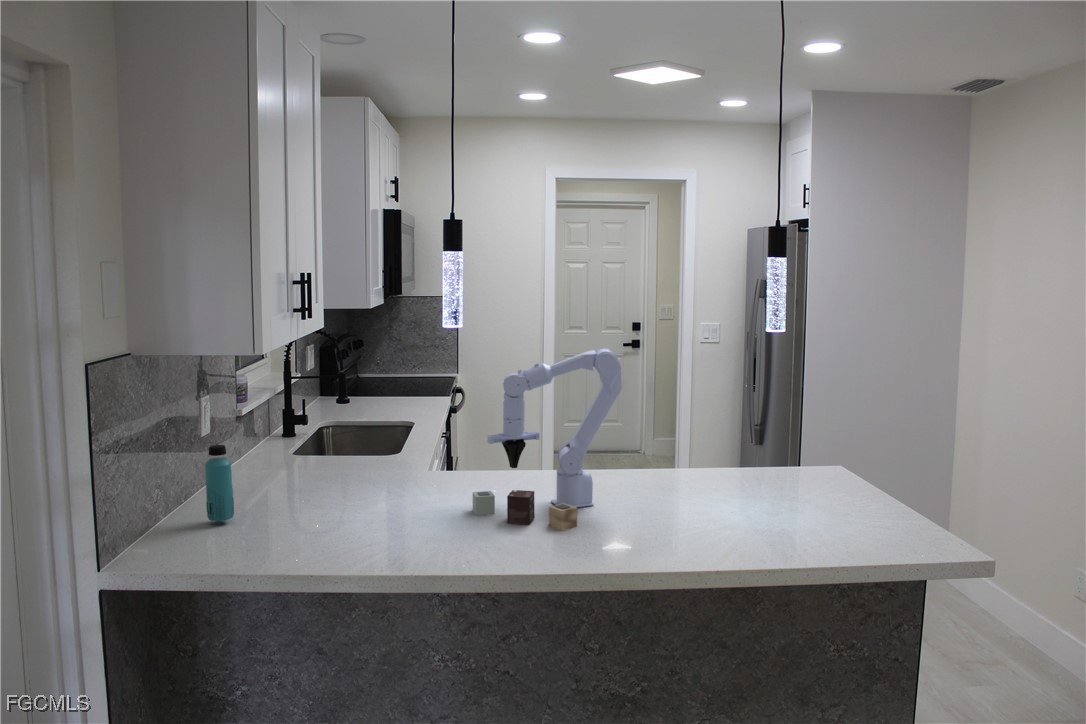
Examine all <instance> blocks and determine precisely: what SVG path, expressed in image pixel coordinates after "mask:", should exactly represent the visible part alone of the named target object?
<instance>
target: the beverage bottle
mask: <svg viewBox="0 0 1086 724" xmlns="http://www.w3.org/2000/svg"><path fill="white" fill-rule="evenodd" d="M226 454H227V449H226V445H223V444H213V445H210V446H209V447H208V456H210V457H211V456H213V458H209V459H208V460H207V461H206V462H205V464H204V468H205V469H204V470H205V471H204V473H205V484H204V485H205V490H206V491H205V492H206V493H205V495H206V503H205V504H206V505H205V506H206V516H207V518H208V520H209V521H212V522H213V521H214V522H220V521H221V522H222V521H228V520H230V519H232V518H233V517H234V514H235V501H234V489H233V478H232V477H233V473H232V461H231V460H229V458H227V457H223V456H224V455H226ZM216 456H218V457H216ZM220 456H221V457H220Z"/></svg>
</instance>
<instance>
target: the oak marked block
mask: <svg viewBox="0 0 1086 724" xmlns="http://www.w3.org/2000/svg"><path fill="white" fill-rule="evenodd" d="M548 526H549V527H551V528H553V529H557V530H559V531H566V530H569V529H573V528H576V527H578V507H574V506H571V505H568V504H565V503H562V504H558V505H555V504H554V505H550V506H548Z"/></svg>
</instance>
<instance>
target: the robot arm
mask: <svg viewBox="0 0 1086 724" xmlns="http://www.w3.org/2000/svg"><path fill="white" fill-rule="evenodd" d="M594 368H595V370H596V371H597V373H598V375H599V378H600V383H601V388H600V389H599V392H598V393H597V395H596V397H595V398H594V400H593V401H592V403H591V405H590V407H588V410H587V412H586V414H585V416H584V417H583V419H582V420H581V423H580V424H579V426H578V427H577V429H576V431H575V432H574V435H572V436H571V438H570V439H569V440H568V442H567V443H566V444H565V445H563V446H562V447H561V448H559V450H558V452H557V461H558V462H559V463H558V465H559V467H558V469H556V498H555V499H550V502H551V503H552V504H554V505H558V504H562V503H565V504H568V505H571V506H574V507H577V508H582V507H583V508H584V507H591V506H594V502H593V485H594V484H593V478H592V477H593V476H592V474H591V473H590V471H588V470H584V469H583V464H584V458H585V456H586V455H587V453H588V448H589V446H590V444H591V442H592V441H593V439H594V437H595V435H596V433H597V432H598V431H599V429H600V427H601V426H602V423H603V422H604V420H605V418H606V417H607V415H608V413H609V412H610V410H611V408H612V406H613V404H614V403H615V401H616V400H617V398H618V396H619V394H620V393H621V391H622V389H623V388H622V372H621V371H622V365H621V363H620V361H619V358H618V357H617V355H616V354H615V353H614V352H613V351H612V350H611V349H610V348H607V347H600V348H597V349H596V350H595V349H592V350H587V351H584V352H581V353H578V354H576V355H574V356H570V357H569V358H568V357H567V358H566V359H563V360H561V361H559V362H557V363H553V364H551V365H548V364H546V363H544V362H543V363H539V362H536V363H534V366H531V367H528V368H526V369H523V370H522V369H518V370H517V372H511V373H509V374H507V375H506V376H505V378H504V379H503V382H502V386H503V390H504V394H503V403H502V404H503V410H502V411H503V414H502V415H503V418H502V419H503V421H502V422H503V423H502V424H503V425H502V430H503V431H502V432H501V433H495V434H490V435H487V437H486V438H487V441H486V442H487V443H488V444H490V445H492V444H497V443H501V445H502V446H503V448H504V450H505V454H506V456H507V459H508V463H509V468H511V469H518V466H519V462H520V457H521V455H522V454H523V451H524V450H525V448H526V444H527V443H526V442H525V441H530V440H531V441H532V440H536V441H537V440H540V438H541V437H540V435H541V434H540V432H539V431H525V409H526V407H525V399H524V398H525V395H524V393H525V391H527V392H529V391H533V390H535V389H537V388H541V387H543V386H546V385H550V384H551V383H552V382H553V379H554V378H555V377H558V376H562V375H564V374H568V373H572V372H574V371H578V370H581V369H584V370H588V371H592V372H593V371H594Z"/></svg>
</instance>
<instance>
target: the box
mask: <svg viewBox="0 0 1086 724" xmlns="http://www.w3.org/2000/svg"><path fill="white" fill-rule="evenodd" d="M506 499H507V500H506V501H507V502H506V503H507V505H506V506H507V507H506V508H507V510H506V513H507V514H506V515H507V519H506V520H507V521H506V523H507V524H509V525H510V524H513V525H527V526H528V525H529V526H530V525H531V524H532V523H533V522H534V519H535V518H536V517H535V512H536V511H535V490H522V489H521V490H520V489H513V490H511V491H510V492H509V494H507V497H506Z"/></svg>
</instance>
